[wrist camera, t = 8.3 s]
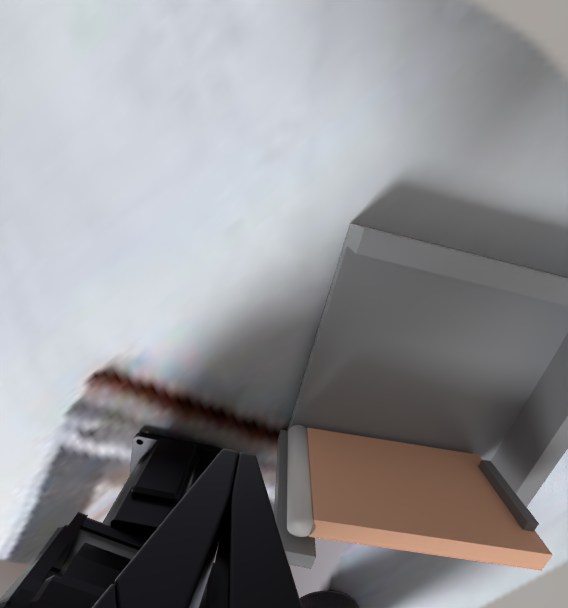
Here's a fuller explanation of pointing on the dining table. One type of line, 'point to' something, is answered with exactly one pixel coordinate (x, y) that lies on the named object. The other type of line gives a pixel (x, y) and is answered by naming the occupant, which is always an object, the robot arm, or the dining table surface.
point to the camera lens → (327, 600)
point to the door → (407, 499)
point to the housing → (437, 361)
